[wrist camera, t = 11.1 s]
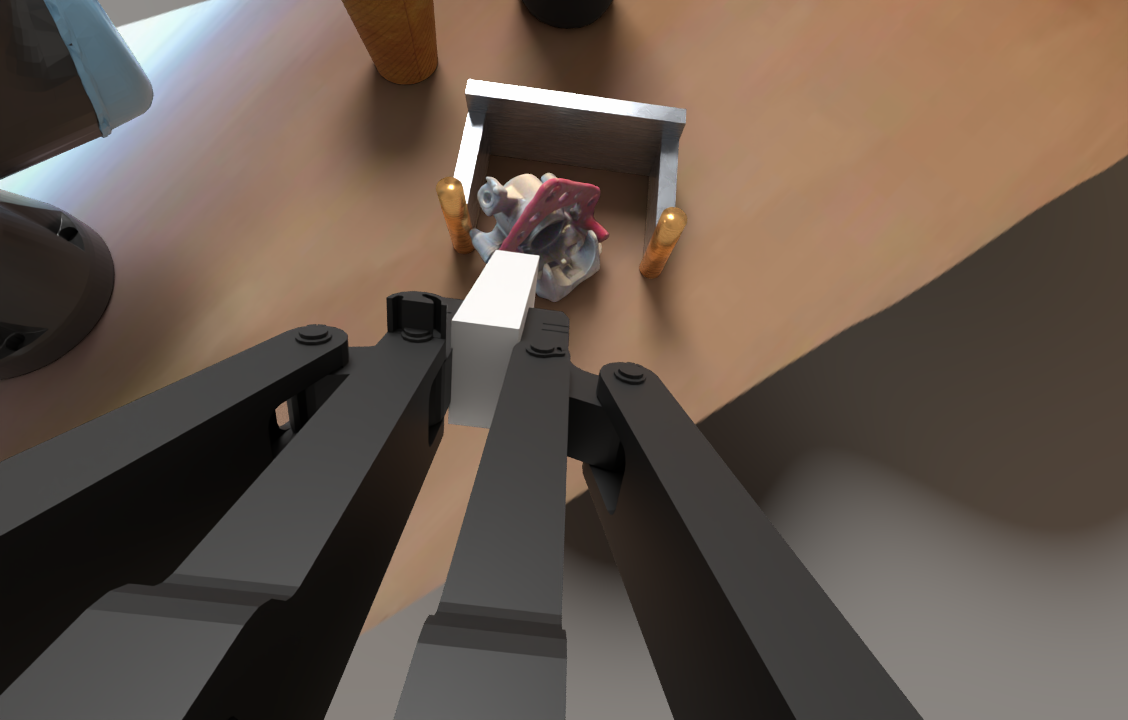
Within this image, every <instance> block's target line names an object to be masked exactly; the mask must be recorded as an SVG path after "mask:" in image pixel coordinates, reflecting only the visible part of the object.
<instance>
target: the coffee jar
mask: <svg viewBox="0 0 1128 720" xmlns="http://www.w3.org/2000/svg"><path fill="white" fill-rule="evenodd" d="M522 1H523V2H524V4H525V5H526V7H527V8H528V10H529V11H530V13H531V14H532V15H534V16H535V17H536V18H537V19H539V20H540V21H541V22H544V23H546V24H549V25H551V26H554V27H560V28H579V27H582V26H585V25H588V24H591V23H593V22H594V21H595V20H597V19H598V18H599V17H601V15H602V14H603V13H604V12H605V11H606V10H607V8H608V7H609V5H610V4H611V2H612V0H522Z"/></svg>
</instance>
